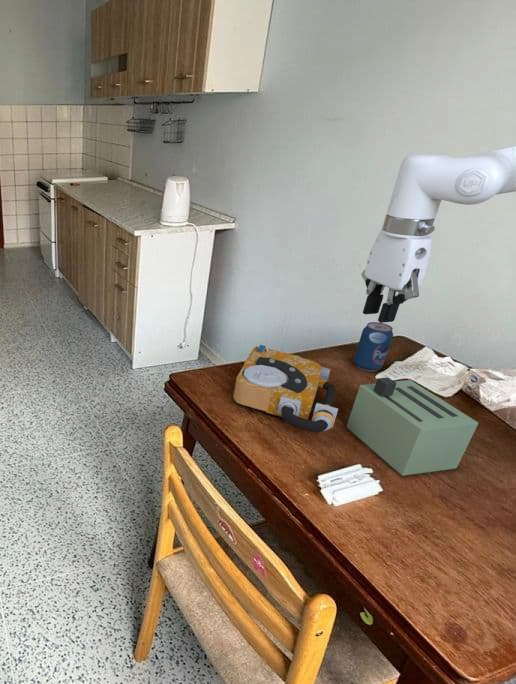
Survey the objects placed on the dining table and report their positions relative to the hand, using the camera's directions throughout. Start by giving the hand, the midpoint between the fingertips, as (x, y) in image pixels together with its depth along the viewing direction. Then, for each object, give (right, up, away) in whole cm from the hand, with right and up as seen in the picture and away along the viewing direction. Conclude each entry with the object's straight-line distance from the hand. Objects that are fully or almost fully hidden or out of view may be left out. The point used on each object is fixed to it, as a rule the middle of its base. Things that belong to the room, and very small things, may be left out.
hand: (377, 316), depth 96 cm
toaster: (+6, -27, +3) cm, 28 cm away
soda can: (+19, -11, +33) cm, 40 cm away
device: (-11, -19, +19) cm, 29 cm away
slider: (+1, -16, 0) cm, 16 cm away
